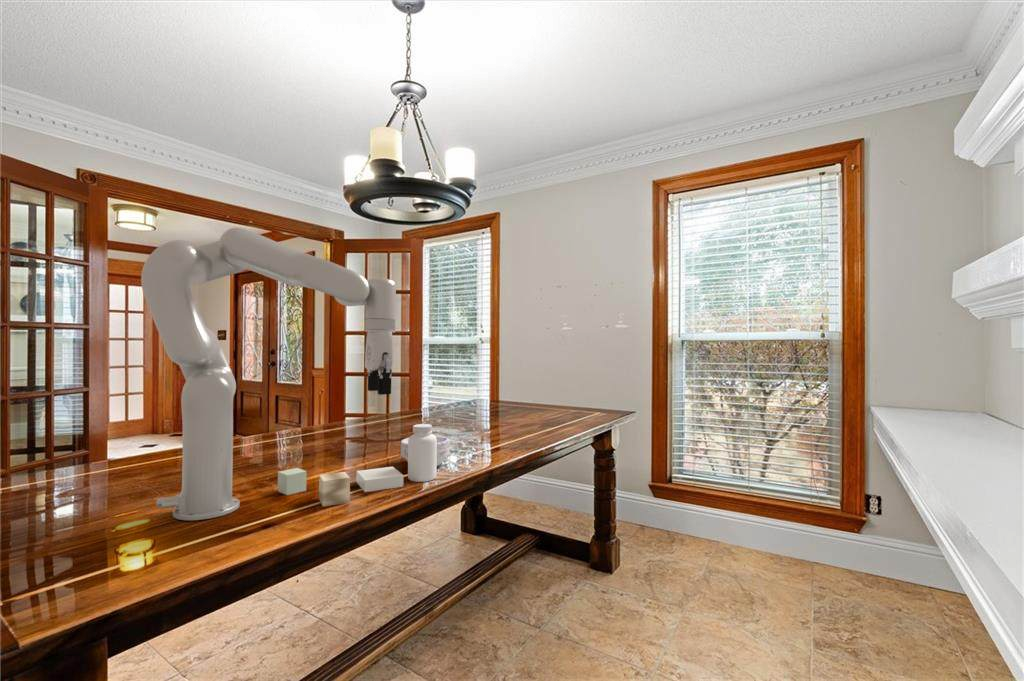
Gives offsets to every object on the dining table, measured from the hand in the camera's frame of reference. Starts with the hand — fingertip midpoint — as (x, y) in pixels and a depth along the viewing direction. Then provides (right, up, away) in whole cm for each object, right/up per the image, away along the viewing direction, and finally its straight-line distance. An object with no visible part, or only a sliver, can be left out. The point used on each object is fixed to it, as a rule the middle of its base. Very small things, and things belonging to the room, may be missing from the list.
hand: (379, 392), depth 123 cm
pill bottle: (+9, -26, +11) cm, 29 cm away
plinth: (-1, -25, +5) cm, 26 cm away
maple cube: (-8, -25, -9) cm, 28 cm away
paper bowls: (+7, -26, +26) cm, 37 cm away
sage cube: (-22, -25, -2) cm, 33 cm away
